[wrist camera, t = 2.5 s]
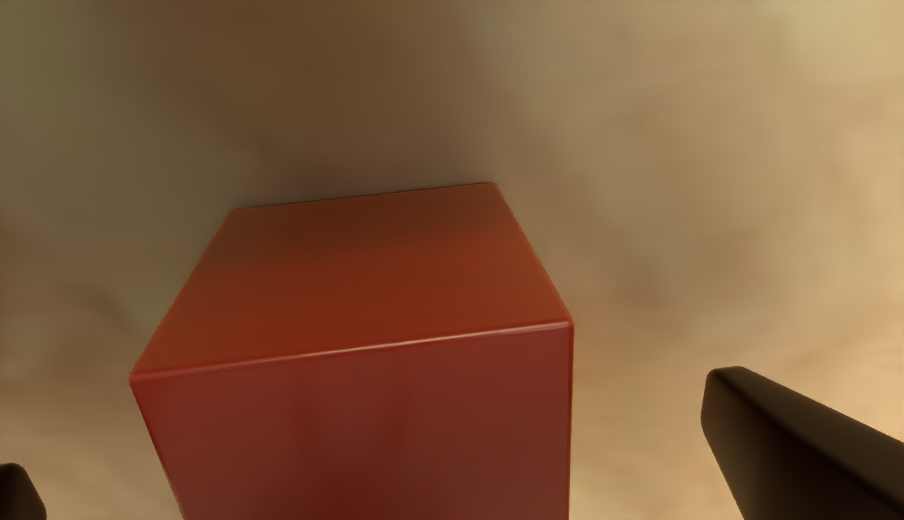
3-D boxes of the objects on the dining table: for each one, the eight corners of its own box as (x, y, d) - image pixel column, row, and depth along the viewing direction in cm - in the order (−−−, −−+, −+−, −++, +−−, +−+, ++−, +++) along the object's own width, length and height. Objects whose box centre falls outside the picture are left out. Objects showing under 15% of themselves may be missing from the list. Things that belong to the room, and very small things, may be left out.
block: (227, 209, 9) (121, 377, 6) (496, 180, 10) (577, 320, 6) (282, 418, 11) (232, 652, 7) (504, 389, 12) (569, 599, 8)
